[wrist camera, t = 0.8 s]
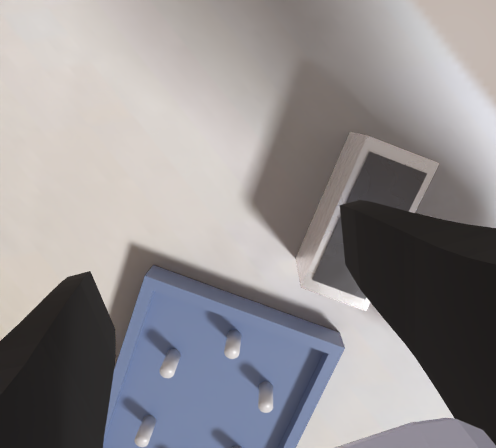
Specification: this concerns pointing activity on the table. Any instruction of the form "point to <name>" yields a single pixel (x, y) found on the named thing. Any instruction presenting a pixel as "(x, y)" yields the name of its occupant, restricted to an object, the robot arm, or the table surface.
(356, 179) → the block
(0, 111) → the table surface
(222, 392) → the pin tray
